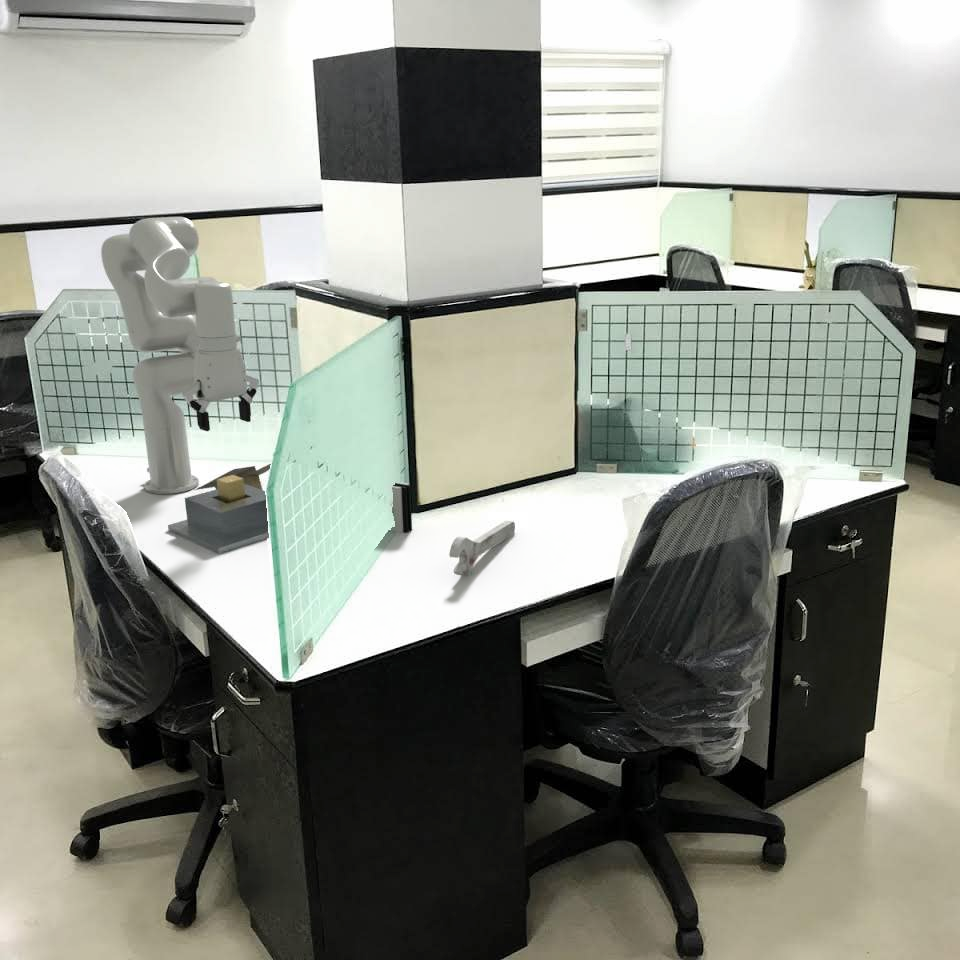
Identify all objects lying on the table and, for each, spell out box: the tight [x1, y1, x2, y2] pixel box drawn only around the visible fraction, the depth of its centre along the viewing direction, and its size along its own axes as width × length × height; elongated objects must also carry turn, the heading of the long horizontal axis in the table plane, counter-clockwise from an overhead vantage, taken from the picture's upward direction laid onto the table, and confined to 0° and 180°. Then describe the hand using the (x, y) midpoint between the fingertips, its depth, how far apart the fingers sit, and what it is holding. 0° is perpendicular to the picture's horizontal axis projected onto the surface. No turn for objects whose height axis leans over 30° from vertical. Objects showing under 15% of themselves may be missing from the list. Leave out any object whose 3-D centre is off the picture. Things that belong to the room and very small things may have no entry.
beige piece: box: [193, 463, 272, 491], centre depth 233 cm, size 16×9×15 cm
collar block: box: [167, 484, 269, 555], centre depth 212 cm, size 20×20×7 cm
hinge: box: [388, 481, 413, 534], centre depth 211 cm, size 14×5×10 cm, turn 74°
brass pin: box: [217, 475, 245, 504], centre depth 211 cm, size 4×4×10 cm
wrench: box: [448, 520, 516, 576], centre depth 195 cm, size 8×2×30 cm
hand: (225, 425), depth 208 cm, fingers open, 9 cm apart
